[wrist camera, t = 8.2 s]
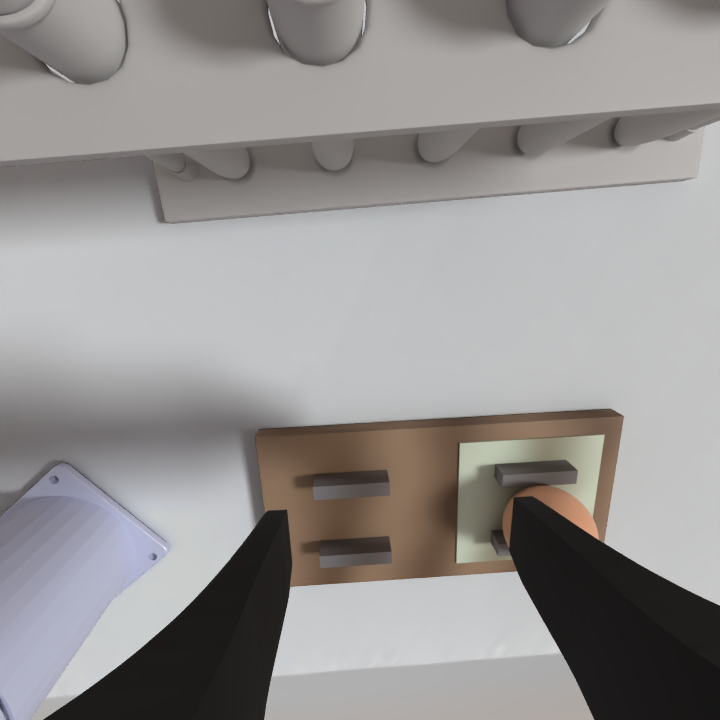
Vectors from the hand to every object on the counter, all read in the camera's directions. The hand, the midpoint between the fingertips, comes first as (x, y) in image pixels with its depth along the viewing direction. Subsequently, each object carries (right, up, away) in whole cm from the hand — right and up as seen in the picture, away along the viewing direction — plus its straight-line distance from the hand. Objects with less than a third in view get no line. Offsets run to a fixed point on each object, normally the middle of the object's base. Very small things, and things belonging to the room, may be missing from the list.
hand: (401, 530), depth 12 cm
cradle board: (+3, -3, +11) cm, 11 cm away
